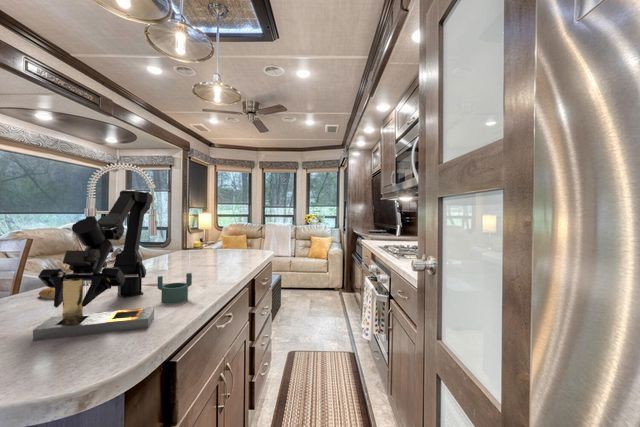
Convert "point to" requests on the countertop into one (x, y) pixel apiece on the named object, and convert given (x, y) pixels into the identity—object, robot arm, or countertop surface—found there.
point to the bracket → (174, 290)
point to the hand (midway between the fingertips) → (69, 306)
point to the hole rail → (95, 324)
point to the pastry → (47, 293)
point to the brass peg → (72, 301)
